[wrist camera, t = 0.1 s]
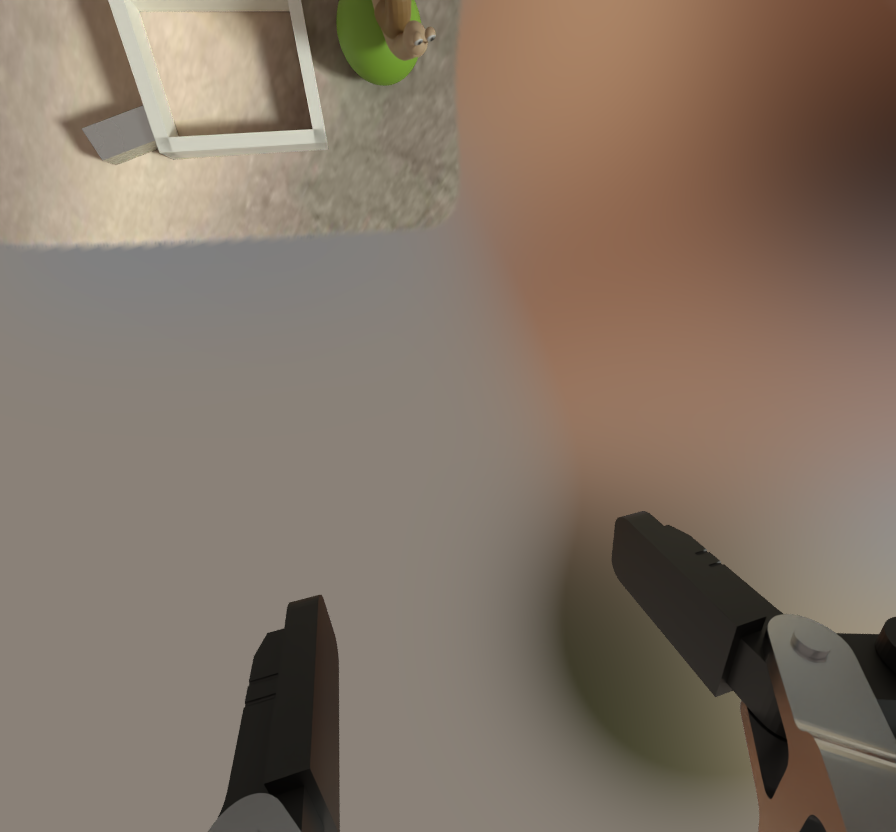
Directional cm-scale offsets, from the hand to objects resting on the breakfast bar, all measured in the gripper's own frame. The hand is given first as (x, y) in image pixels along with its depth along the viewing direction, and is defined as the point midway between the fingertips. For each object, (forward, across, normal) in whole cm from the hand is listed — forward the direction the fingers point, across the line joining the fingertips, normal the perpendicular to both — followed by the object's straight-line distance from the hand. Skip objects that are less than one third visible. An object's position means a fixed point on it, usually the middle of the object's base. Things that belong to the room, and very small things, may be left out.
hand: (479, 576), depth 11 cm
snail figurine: (+29, -3, -20) cm, 36 cm away
